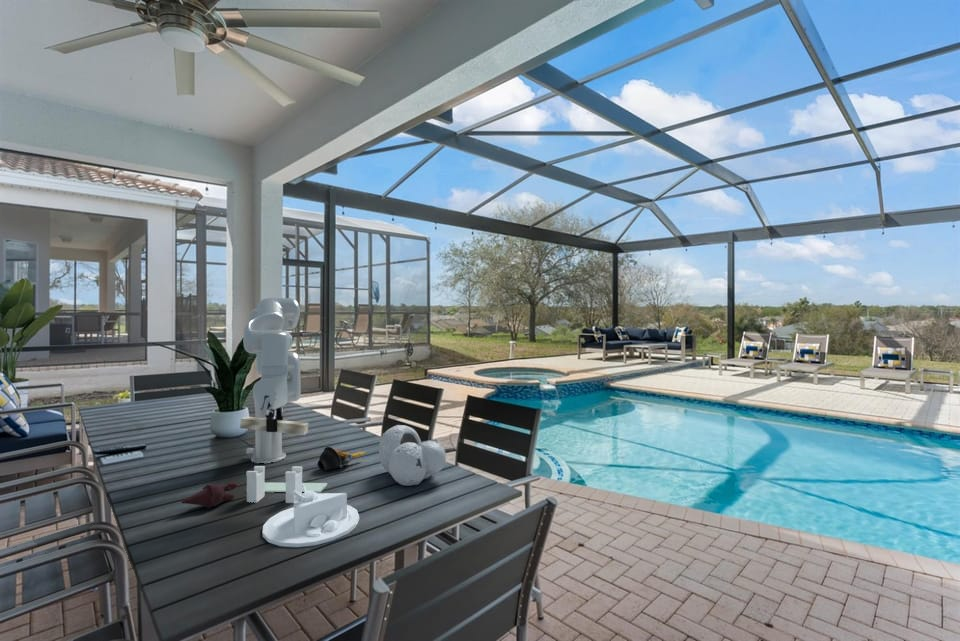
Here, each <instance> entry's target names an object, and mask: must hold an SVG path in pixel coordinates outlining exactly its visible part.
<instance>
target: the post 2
mask: <svg viewBox="0 0 960 641" xmlns="http://www.w3.org/2000/svg"><path fill="white" fill-rule="evenodd" d="M284 476H285V477H284V478H285V483H286V493H285V503H286V504H294V495H293V494H292V492H293V491H294V490H295V491H297V492H298V493H300V494H303V493H302V484H301V482H300V481H302V482H303V466H296V465H295V466H292V467H291V471H289V470H288V471H285V473H284Z"/></svg>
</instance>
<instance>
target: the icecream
mask: <svg viewBox="0 0 960 641" xmlns="http://www.w3.org/2000/svg"><path fill="white" fill-rule="evenodd" d="M237 487H238V484H237V483H236V482H234V481H232V482H230V483H227V484H226V485H224V486H222V485H220V484H217V483H214V484H206V485H205V486H203V487H202V490H200V491H198V492H196V493H194V494H193V495H191V496H189V497H186V498H184V500H182V501H181V504H187V505H196V506H203V507H204V508H206V509H208V510H210V509H211V508H213V507H215V506H218V505H220V504H221V503H222V502H223V501H224V502H229V501H232V500H234V498H235V494H233V493H227V492H231V491H234V490H235V489H236V488H237ZM231 499H232V500H231ZM228 500H229V501H228Z"/></svg>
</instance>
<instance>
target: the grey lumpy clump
mask: <svg viewBox="0 0 960 641" xmlns="http://www.w3.org/2000/svg"><path fill="white" fill-rule="evenodd" d="M378 446H379V447H378V456H379V462H380V464H381V466H382V467H383V468H384V470H385V471H386V472H388V473H389V474H390V475H391V477H392V478H393V479H394V481H395V482H396V483H398V484H400V485H401V486H407V487H408V486H409V487H410V486H417V485H419V484H420V483H422V481H423V480H425V479H428V478H430V476H431V475H434V474H436V473H439V472H441V470H443V468H444V467H445V465H446V460H447V454H446V449H445V448H444V447H443V446H442V445H441V444H440V443H438V442H437V441H433V440H430V439H428V441H423V442H422V440H421V438H420V436H419V434H418V432H417V431H416V429H414V428H413V427H411V426H408V425H404V424H403V425H402V424H396V425H393V426H392V427H390V428H388V429H387V430H386V431H385V432H384V433H383V434H382V436H381V437H380V441H379V443H378Z"/></svg>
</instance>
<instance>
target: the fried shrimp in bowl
mask: <svg viewBox="0 0 960 641" xmlns="http://www.w3.org/2000/svg"><path fill="white" fill-rule="evenodd" d="M349 453H350V452H349V451H346V452H344V451H339V450H336V448H333V447H331V446H326V447H324V448H323V451H322V452H321V453H320V456H319V460H318V461H317V467H318V468H319V469H320V470H322V472H325V471H326V470H327V471H332V470H335V469H338V468H339V469H344V468H346V467H348V466H349V464H350V463H351V462H352V459H355V458H356V459H357V458H359V457H362V456H364V455H365V454H366V450H362V451H359V452H356V453H352V454H349ZM343 467H344V468H343Z"/></svg>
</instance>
